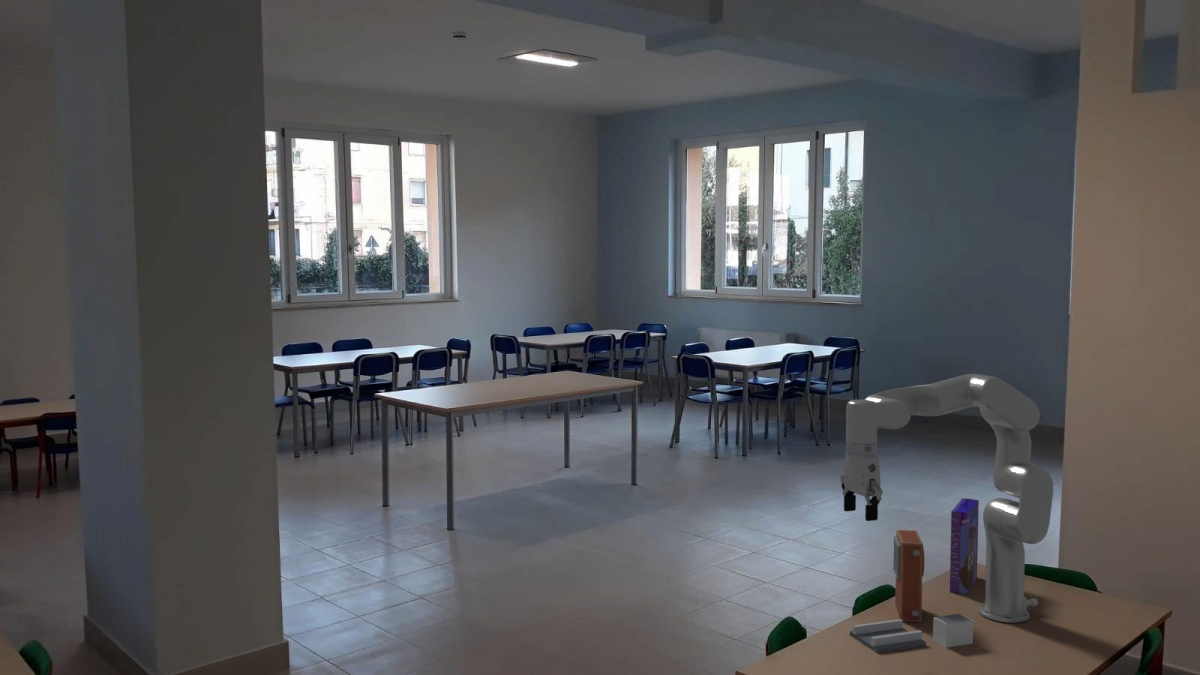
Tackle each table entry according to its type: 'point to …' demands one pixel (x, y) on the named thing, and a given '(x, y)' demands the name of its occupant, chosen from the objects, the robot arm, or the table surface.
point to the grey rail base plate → (887, 636)
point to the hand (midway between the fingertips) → (860, 515)
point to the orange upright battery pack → (908, 574)
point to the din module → (953, 630)
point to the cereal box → (964, 546)
